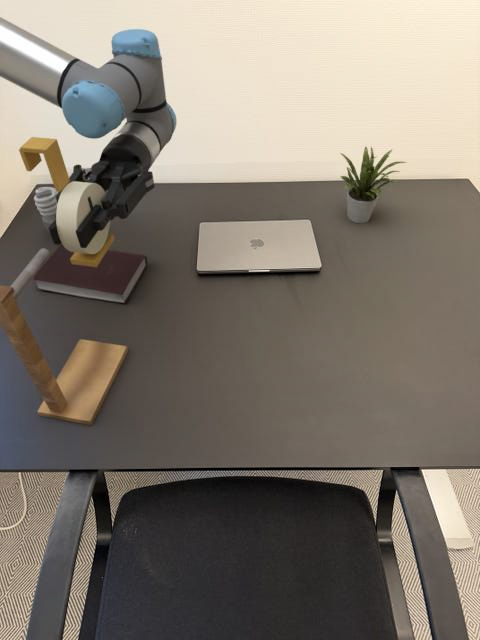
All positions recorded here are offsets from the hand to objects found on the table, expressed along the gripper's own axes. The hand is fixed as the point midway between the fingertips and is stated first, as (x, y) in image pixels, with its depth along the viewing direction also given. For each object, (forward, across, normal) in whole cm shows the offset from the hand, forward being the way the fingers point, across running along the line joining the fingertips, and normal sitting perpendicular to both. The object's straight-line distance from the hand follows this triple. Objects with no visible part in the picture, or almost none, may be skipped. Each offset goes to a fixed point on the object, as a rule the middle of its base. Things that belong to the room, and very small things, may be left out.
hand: (67, 238), depth 63 cm
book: (-20, +12, -26) cm, 35 cm away
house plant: (-51, -42, -26) cm, 71 cm away
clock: (-5, +2, -7) cm, 9 cm away
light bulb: (-32, +25, -26) cm, 48 cm away
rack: (+5, +2, -26) cm, 27 cm away
